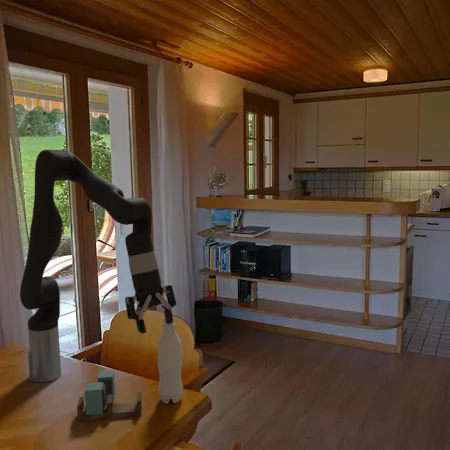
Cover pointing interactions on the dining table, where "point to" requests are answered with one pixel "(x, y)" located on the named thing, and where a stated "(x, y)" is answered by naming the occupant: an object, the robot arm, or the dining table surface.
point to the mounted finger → (95, 398)
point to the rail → (111, 409)
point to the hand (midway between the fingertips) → (156, 328)
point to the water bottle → (170, 364)
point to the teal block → (107, 381)
